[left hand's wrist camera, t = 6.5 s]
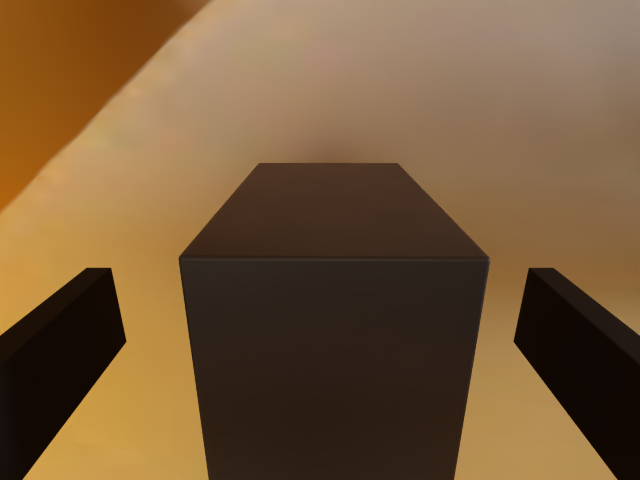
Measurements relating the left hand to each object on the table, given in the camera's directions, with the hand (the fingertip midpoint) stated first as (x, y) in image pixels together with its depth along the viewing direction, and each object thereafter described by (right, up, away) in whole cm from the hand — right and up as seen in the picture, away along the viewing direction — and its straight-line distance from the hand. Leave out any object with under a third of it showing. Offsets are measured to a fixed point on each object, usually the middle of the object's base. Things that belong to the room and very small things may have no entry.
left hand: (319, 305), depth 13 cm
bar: (0, -12, +9) cm, 15 cm away
